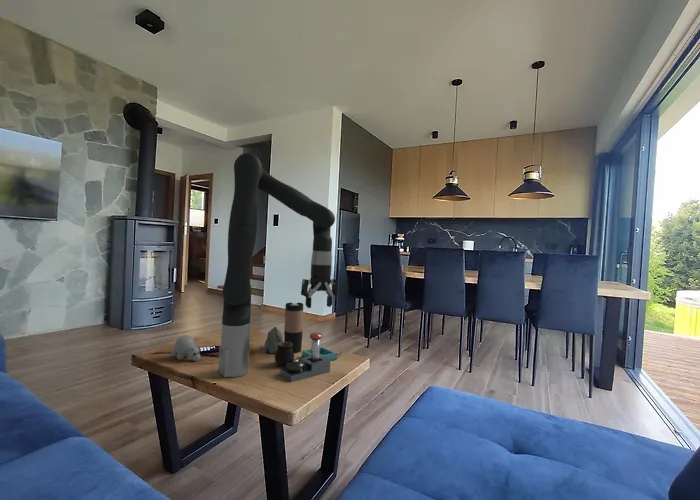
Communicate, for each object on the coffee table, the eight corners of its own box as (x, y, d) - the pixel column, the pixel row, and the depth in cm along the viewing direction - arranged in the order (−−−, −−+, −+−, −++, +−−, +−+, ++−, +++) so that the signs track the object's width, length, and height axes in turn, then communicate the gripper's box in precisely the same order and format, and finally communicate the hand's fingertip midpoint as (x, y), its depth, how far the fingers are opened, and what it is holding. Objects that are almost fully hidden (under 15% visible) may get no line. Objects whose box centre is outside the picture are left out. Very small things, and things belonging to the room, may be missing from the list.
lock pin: (312, 373, 119) (314, 336, 119) (306, 370, 122) (307, 333, 122) (322, 371, 122) (324, 334, 121) (316, 367, 125) (317, 332, 125)
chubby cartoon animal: (187, 371, 123) (194, 351, 122) (167, 353, 128) (173, 334, 126) (203, 364, 130) (209, 346, 128) (183, 348, 135) (189, 330, 133)
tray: (315, 364, 128) (316, 357, 128) (301, 356, 136) (302, 350, 136) (336, 359, 135) (336, 353, 135) (322, 352, 142) (322, 346, 142)
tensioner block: (291, 381, 111) (291, 365, 111) (279, 374, 117) (279, 358, 117) (330, 371, 121) (330, 356, 121) (317, 365, 128) (317, 350, 127)
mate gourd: (285, 360, 132) (287, 334, 132) (298, 365, 127) (299, 339, 127) (270, 364, 126) (271, 337, 126) (283, 370, 121) (284, 342, 121)
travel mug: (292, 354, 138) (294, 306, 138) (279, 350, 143) (281, 303, 143) (305, 350, 144) (307, 304, 144) (293, 346, 149) (294, 301, 149)
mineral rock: (277, 343, 153) (278, 321, 153) (295, 348, 147) (296, 325, 147) (255, 350, 142) (256, 326, 142) (273, 355, 137) (274, 330, 136)
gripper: (309, 263, 118) (306, 310, 118) (343, 264, 126) (340, 307, 126) (299, 262, 124) (297, 306, 124) (332, 263, 132) (330, 304, 132)
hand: (319, 307), depth 125 cm, fingers open, 8 cm apart
